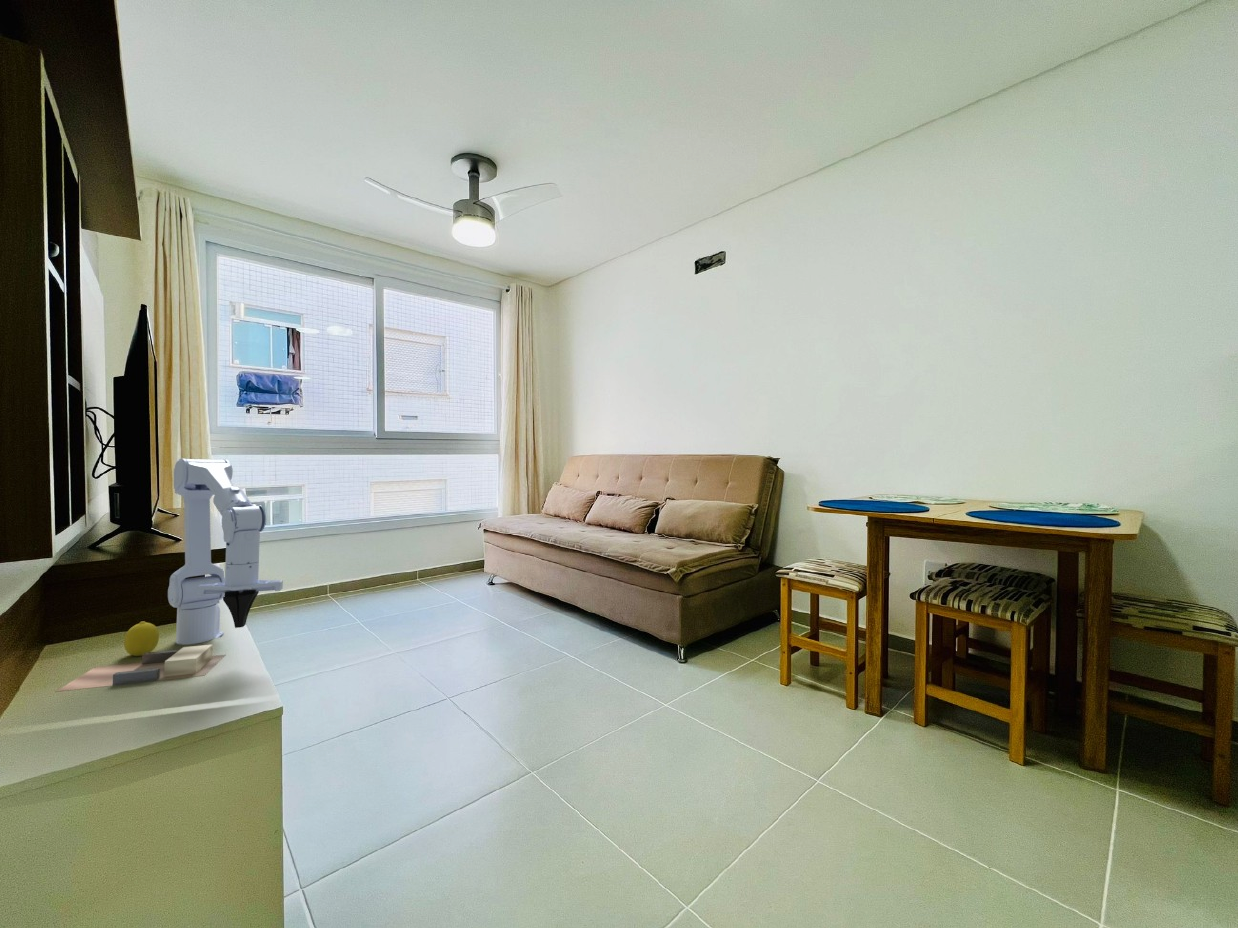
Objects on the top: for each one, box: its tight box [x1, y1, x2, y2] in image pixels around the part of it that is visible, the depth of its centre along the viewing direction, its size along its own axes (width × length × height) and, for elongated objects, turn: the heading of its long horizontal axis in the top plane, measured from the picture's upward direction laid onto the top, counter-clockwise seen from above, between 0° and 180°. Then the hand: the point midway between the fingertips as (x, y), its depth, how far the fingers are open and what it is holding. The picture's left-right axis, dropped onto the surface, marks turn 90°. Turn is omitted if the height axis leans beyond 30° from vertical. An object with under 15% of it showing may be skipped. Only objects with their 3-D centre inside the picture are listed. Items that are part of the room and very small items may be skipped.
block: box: [164, 644, 213, 677], centre depth 103 cm, size 8×5×3 cm, turn 22°
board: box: [55, 654, 226, 693], centre depth 100 cm, size 12×22×1 cm, turn 112°
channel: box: [113, 649, 180, 686], centre depth 100 cm, size 12×6×2 cm, turn 22°
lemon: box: [123, 620, 160, 657], centre depth 109 cm, size 6×6×8 cm
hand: (240, 626), depth 106 cm, fingers closed
